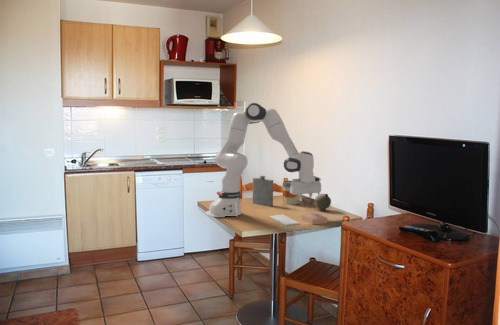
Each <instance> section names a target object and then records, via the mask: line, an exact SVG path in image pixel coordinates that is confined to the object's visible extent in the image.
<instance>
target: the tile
mask: <svg viewBox="0 0 500 325" xmlns="http://www.w3.org/2000/svg"><path fill="white" fill-rule="evenodd" d="M301 221H303V222H306V223H308V224H310V225H314V226H315V225H321V224H327V223H328V218H327V217H325V216H323V215H321V214H319V213H310V214H309V213H308V214H307V213H306V214H302V215H301Z"/></svg>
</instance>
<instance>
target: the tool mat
mask: <svg viewBox="0 0 500 325" xmlns="http://www.w3.org/2000/svg"><path fill="white" fill-rule="evenodd" d="M269 218H271V219H273V220H275V221H277V222H278V223H279V224H280V223H281V224H282V225H284V226H294V225H295V226H296V225H300V222H299V221H297V220H294V219H293V218H290V217H289V216H287V215H285V214H274V215H269Z"/></svg>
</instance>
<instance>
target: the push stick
mask: <svg viewBox="0 0 500 325" xmlns="http://www.w3.org/2000/svg"><path fill="white" fill-rule="evenodd" d="M302 198H304V201H300V197H299V195H296V201H297V202H298V203H300V204H302V205H304V206H306V207H307V206H308V207H310V208H311V207H316V202H315V199H314V198H312V197H311V198H309V196H306V195H305V194H302Z"/></svg>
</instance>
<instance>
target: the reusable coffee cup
mask: <svg viewBox="0 0 500 325" xmlns="http://www.w3.org/2000/svg"><path fill="white" fill-rule="evenodd" d="M291 181H292V180H284V181H283V182H282V188H283V189H282V193H283V198H284V204H286V205H298V203H299V202H297V201H296V195H299V194H295V195H293V194H291V193H290V187H291Z"/></svg>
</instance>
